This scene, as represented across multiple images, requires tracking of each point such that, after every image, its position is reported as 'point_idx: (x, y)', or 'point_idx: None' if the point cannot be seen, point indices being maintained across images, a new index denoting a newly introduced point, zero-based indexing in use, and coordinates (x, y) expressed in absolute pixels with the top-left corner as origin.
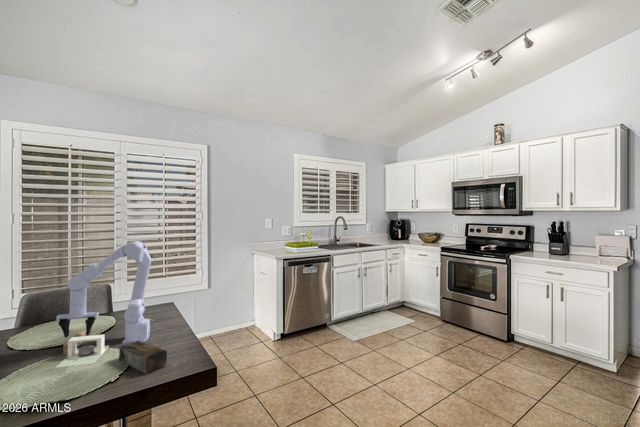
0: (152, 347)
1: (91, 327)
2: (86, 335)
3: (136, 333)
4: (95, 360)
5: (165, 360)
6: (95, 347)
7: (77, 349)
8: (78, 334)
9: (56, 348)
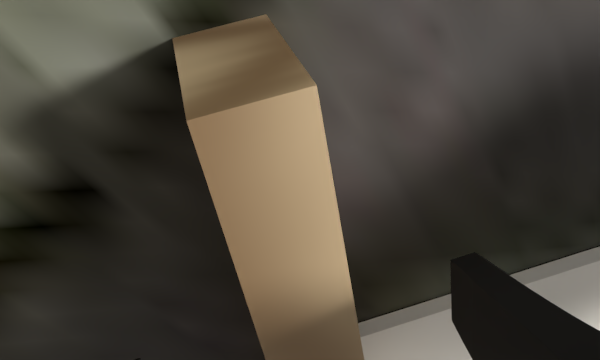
0: None
1: (573, 320)
2: (457, 320)
3: None
4: None
5: None
6: None
7: (377, 358)
8: (301, 312)
9: (42, 323)
